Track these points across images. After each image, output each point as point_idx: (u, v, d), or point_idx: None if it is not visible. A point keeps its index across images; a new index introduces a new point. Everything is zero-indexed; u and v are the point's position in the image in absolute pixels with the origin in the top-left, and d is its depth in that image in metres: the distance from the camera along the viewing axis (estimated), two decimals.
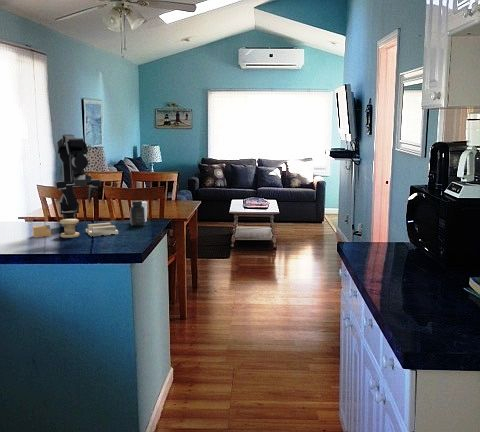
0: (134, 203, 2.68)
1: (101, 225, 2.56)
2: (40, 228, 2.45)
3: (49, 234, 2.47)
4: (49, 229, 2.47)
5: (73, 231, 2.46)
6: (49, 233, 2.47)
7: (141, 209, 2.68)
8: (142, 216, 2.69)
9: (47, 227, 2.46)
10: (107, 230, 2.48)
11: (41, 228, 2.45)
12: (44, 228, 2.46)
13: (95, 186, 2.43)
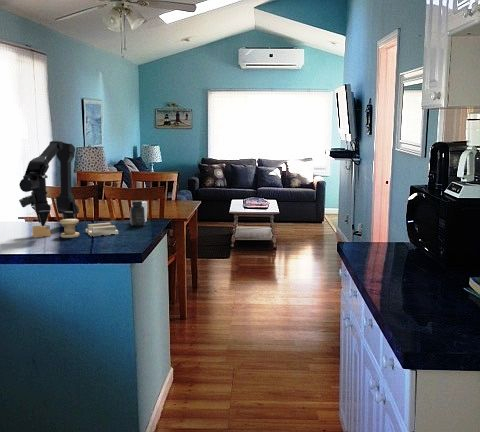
0: (134, 203, 2.68)
1: (101, 225, 2.56)
2: (40, 228, 2.45)
3: (49, 234, 2.47)
4: (49, 229, 2.47)
5: (73, 231, 2.46)
6: (49, 233, 2.47)
7: (141, 209, 2.68)
8: (142, 216, 2.69)
9: (47, 227, 2.46)
10: (107, 230, 2.48)
11: (41, 228, 2.45)
12: (44, 228, 2.46)
13: (35, 210, 2.38)
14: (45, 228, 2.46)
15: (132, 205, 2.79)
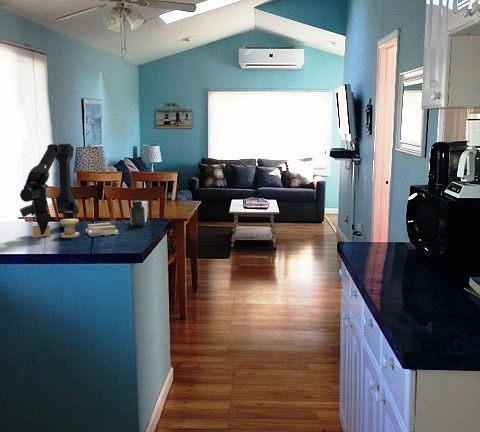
0: (134, 203, 2.68)
1: (101, 225, 2.56)
2: (39, 228, 2.45)
3: (48, 234, 2.47)
4: (48, 229, 2.47)
5: (73, 231, 2.46)
6: (48, 233, 2.47)
7: (141, 209, 2.68)
8: (142, 216, 2.69)
9: (46, 227, 2.46)
10: (107, 230, 2.48)
11: None
12: None
13: (35, 220, 2.39)
14: None
15: None
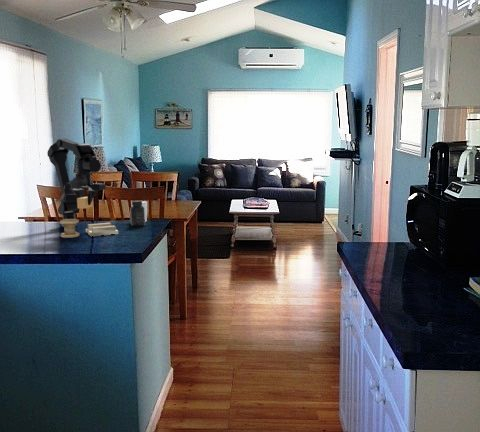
0: (134, 203, 2.68)
1: (101, 225, 2.56)
2: (87, 199, 2.55)
3: (92, 204, 2.59)
4: None
5: (73, 231, 2.46)
6: (92, 203, 2.59)
7: (141, 209, 2.68)
8: (142, 216, 2.69)
9: None
10: (107, 230, 2.48)
11: (87, 199, 2.56)
12: None
13: (94, 190, 2.51)
14: None
15: None
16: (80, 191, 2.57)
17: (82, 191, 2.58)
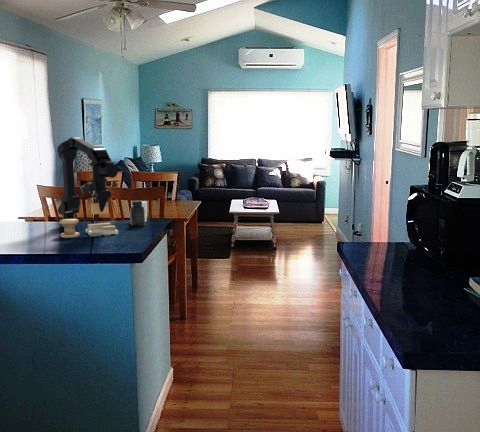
0: (134, 203, 2.68)
1: (101, 225, 2.56)
2: (98, 205, 2.49)
3: (107, 211, 2.51)
4: (107, 206, 2.51)
5: (73, 231, 2.46)
6: (107, 210, 2.51)
7: (141, 209, 2.68)
8: (142, 216, 2.69)
9: None
10: (107, 230, 2.48)
11: None
12: None
13: (96, 196, 2.43)
14: None
15: (132, 205, 2.79)
16: None
17: None
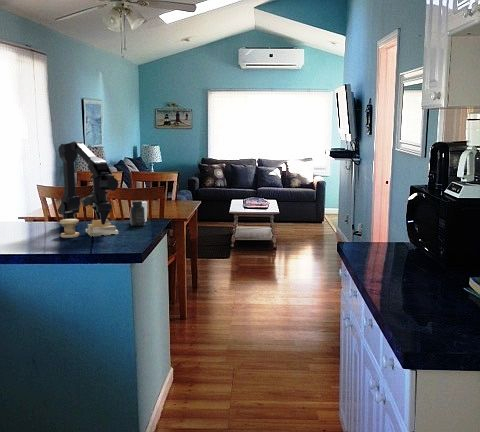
0: (134, 203, 2.68)
1: None
2: (99, 222, 2.51)
3: None
4: (108, 223, 2.52)
5: (73, 231, 2.46)
6: None
7: (141, 209, 2.68)
8: (142, 216, 2.69)
9: (106, 221, 2.52)
10: (107, 230, 2.48)
11: (100, 222, 2.51)
12: None
13: (97, 209, 2.44)
14: None
15: (132, 205, 2.79)
16: None
17: None
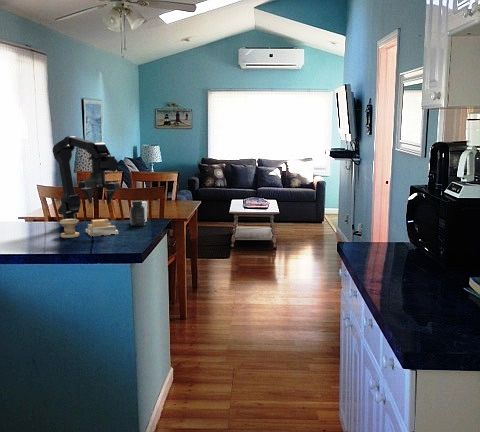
0: (134, 203, 2.68)
1: None
2: (99, 222, 2.51)
3: None
4: (108, 223, 2.52)
5: (73, 231, 2.46)
6: None
7: (141, 209, 2.68)
8: (142, 216, 2.69)
9: (106, 221, 2.52)
10: (107, 230, 2.48)
11: (100, 222, 2.51)
12: (103, 222, 2.51)
13: (108, 189, 2.50)
14: (104, 222, 2.52)
15: (132, 205, 2.79)
16: (89, 190, 2.57)
17: (91, 190, 2.58)
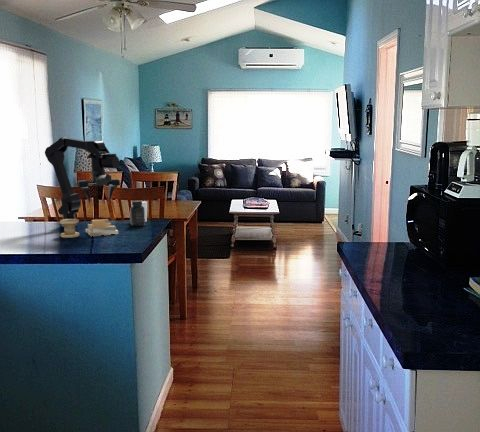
0: (134, 203, 2.68)
1: None
2: (99, 222, 2.51)
3: None
4: (108, 223, 2.52)
5: (73, 231, 2.46)
6: None
7: (141, 209, 2.68)
8: (142, 216, 2.69)
9: (106, 221, 2.52)
10: (107, 230, 2.48)
11: (100, 222, 2.51)
12: (103, 222, 2.51)
13: (114, 185, 2.61)
14: (104, 222, 2.52)
15: None
16: None
17: None
